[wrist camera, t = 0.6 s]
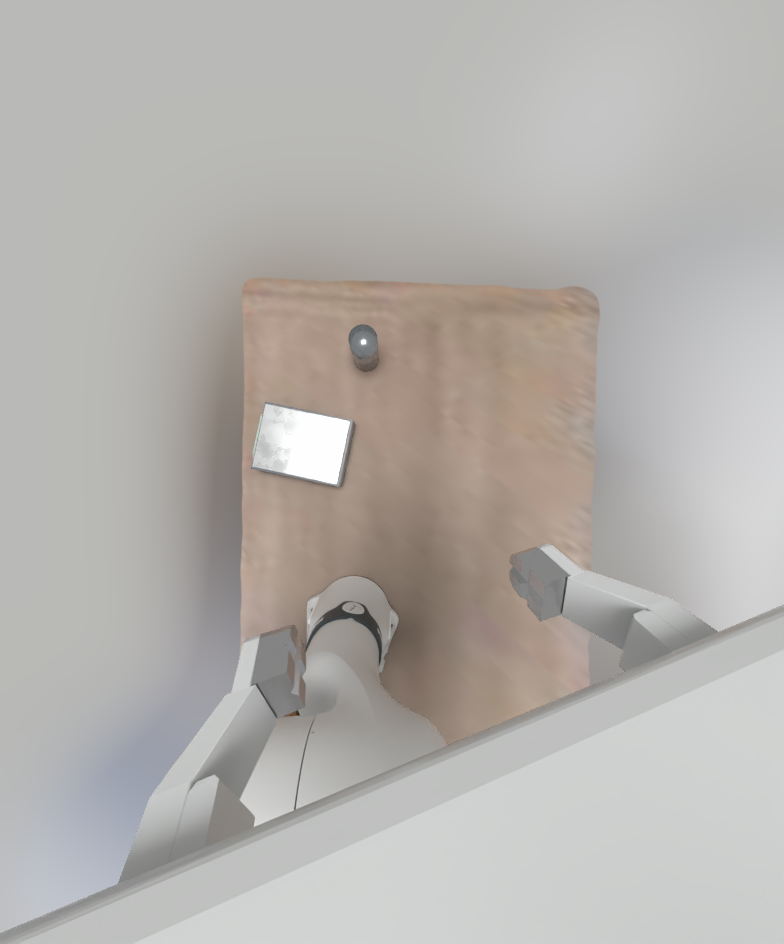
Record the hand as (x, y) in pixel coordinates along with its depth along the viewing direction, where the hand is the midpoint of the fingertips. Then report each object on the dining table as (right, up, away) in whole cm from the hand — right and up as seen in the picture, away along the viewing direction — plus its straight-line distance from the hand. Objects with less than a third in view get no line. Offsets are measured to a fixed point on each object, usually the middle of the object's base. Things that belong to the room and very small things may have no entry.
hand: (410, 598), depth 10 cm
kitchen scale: (-18, +10, +48) cm, 52 cm away
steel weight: (-6, +28, +48) cm, 56 cm away
